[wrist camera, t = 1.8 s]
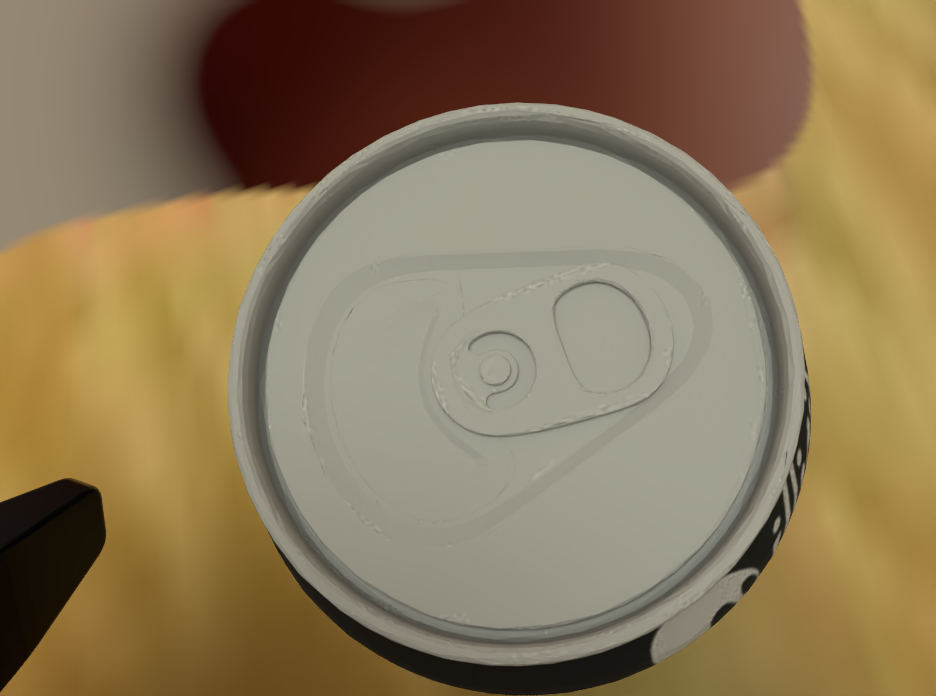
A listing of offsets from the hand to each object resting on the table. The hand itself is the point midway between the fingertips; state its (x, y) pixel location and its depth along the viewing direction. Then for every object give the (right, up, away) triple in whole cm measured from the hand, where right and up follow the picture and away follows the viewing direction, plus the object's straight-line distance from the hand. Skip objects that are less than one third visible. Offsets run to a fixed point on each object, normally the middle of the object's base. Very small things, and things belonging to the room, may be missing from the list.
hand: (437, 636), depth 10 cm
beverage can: (+2, 0, +10) cm, 11 cm away
